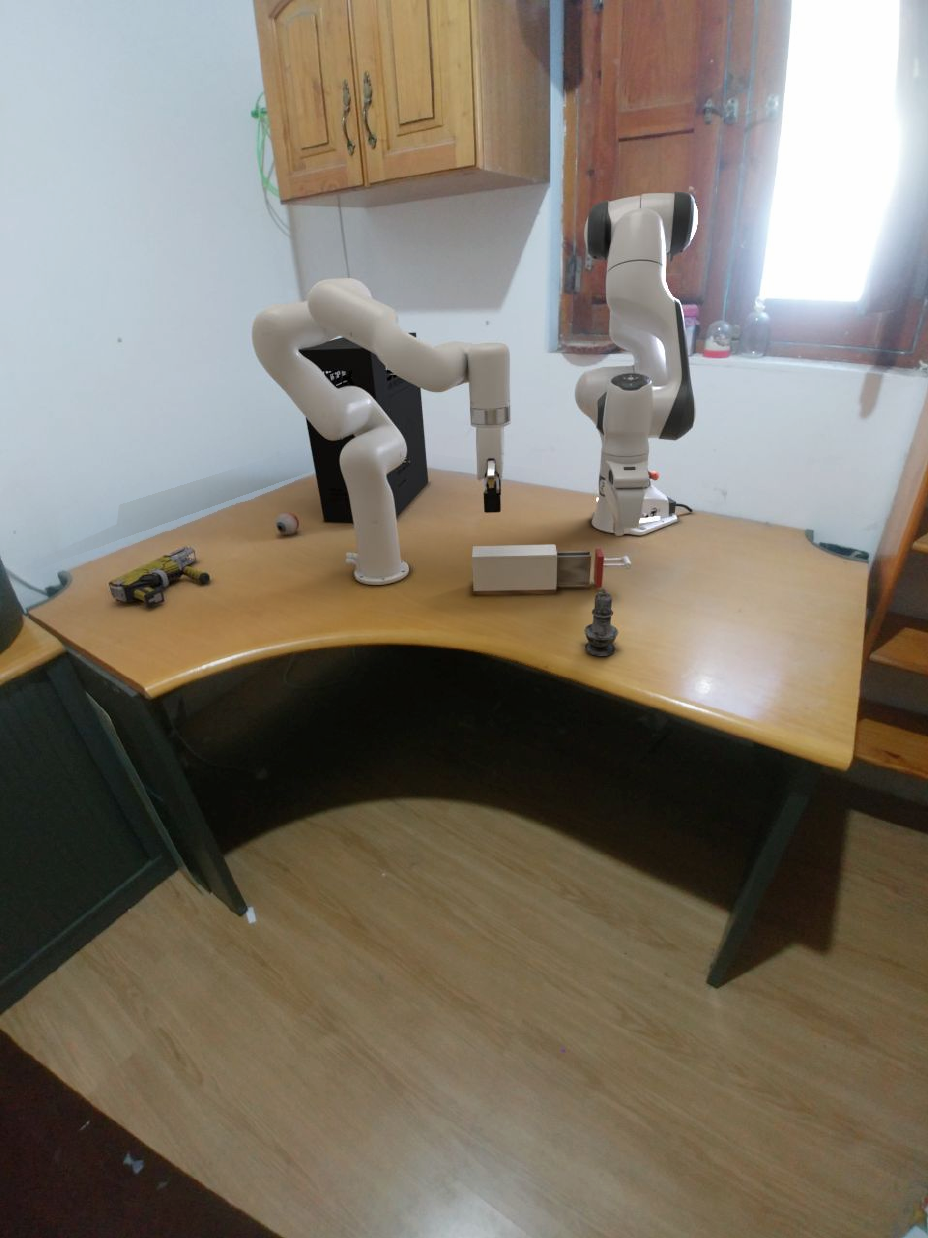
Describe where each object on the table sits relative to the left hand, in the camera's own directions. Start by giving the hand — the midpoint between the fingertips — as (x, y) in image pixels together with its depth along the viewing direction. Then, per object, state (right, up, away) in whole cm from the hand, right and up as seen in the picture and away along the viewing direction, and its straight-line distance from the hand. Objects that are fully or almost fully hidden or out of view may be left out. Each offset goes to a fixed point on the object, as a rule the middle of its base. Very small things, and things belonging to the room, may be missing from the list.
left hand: (492, 503), depth 121 cm
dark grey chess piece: (+19, -29, -13) cm, 37 cm away
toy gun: (-73, -15, +20) cm, 77 cm away
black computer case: (-32, +13, +65) cm, 73 cm away
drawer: (+18, -16, +8) cm, 25 cm away
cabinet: (+5, -17, +9) cm, 20 cm away
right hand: (+26, -6, +2) cm, 26 cm away
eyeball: (-54, 0, +44) cm, 69 cm away
